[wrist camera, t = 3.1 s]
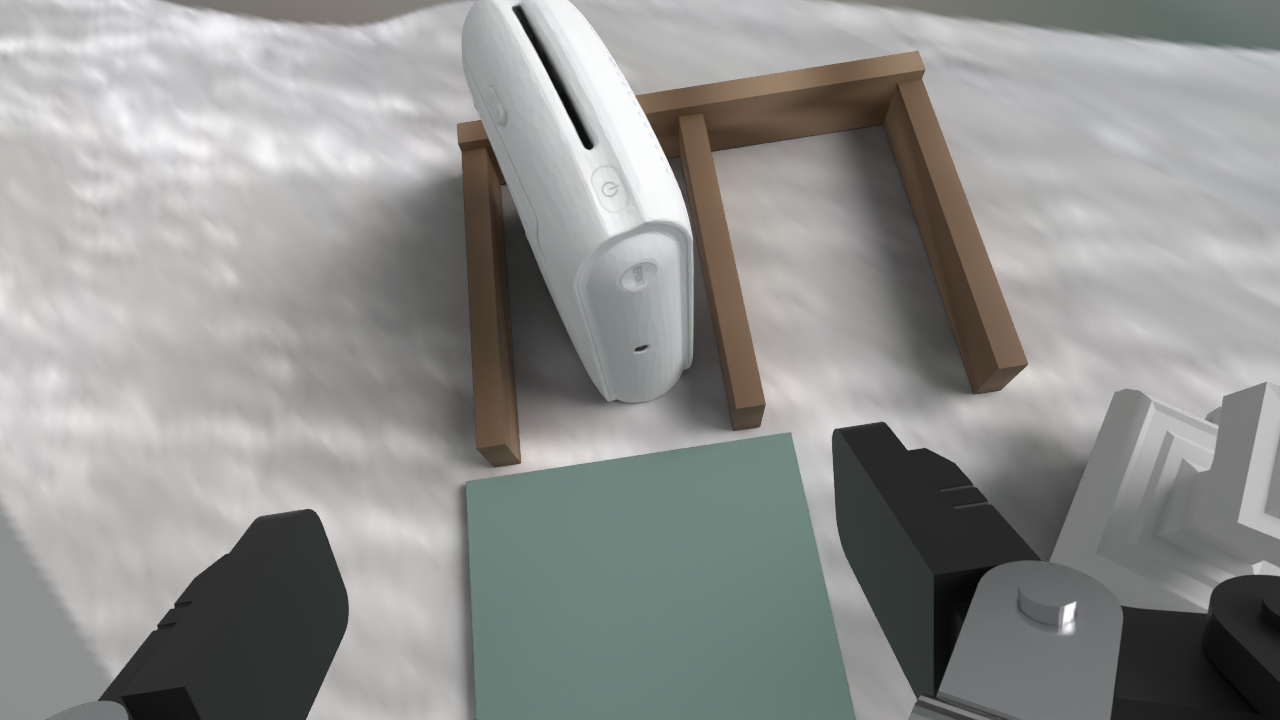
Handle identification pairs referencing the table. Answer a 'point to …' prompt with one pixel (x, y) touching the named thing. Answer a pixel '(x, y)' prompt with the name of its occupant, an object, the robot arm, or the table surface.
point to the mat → (653, 591)
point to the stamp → (1178, 499)
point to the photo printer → (587, 190)
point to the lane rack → (692, 132)
